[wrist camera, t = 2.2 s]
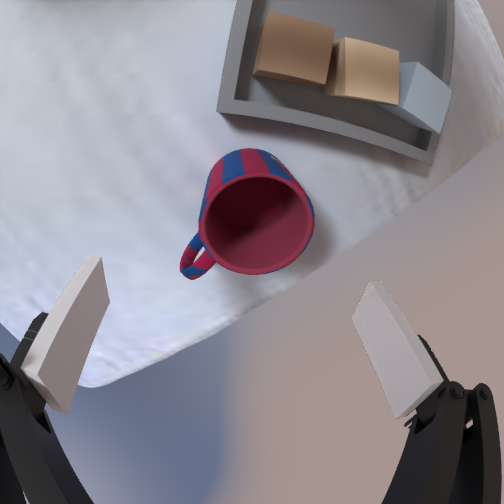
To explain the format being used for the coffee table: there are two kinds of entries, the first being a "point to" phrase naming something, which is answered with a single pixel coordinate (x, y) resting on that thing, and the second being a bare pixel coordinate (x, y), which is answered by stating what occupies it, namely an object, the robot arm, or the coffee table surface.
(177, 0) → the coffee table surface
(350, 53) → the block beech
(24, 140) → the coffee table surface
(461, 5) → the coffee table surface
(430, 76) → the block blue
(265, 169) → the mug
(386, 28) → the tray
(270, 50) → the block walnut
